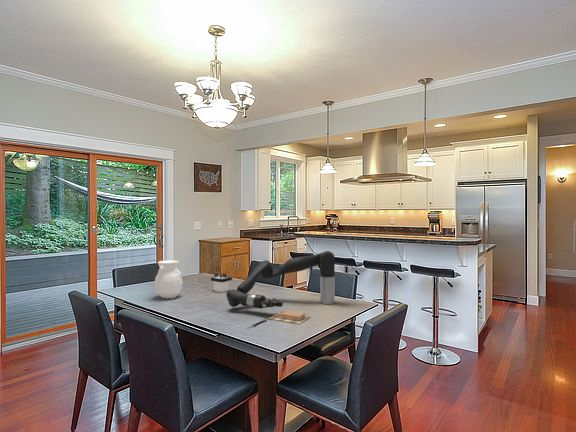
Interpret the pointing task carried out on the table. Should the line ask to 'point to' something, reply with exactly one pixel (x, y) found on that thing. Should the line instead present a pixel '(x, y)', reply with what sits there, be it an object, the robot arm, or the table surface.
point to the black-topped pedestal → (221, 282)
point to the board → (288, 319)
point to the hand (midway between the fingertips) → (282, 304)
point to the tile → (291, 315)
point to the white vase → (168, 279)
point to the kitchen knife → (257, 324)
